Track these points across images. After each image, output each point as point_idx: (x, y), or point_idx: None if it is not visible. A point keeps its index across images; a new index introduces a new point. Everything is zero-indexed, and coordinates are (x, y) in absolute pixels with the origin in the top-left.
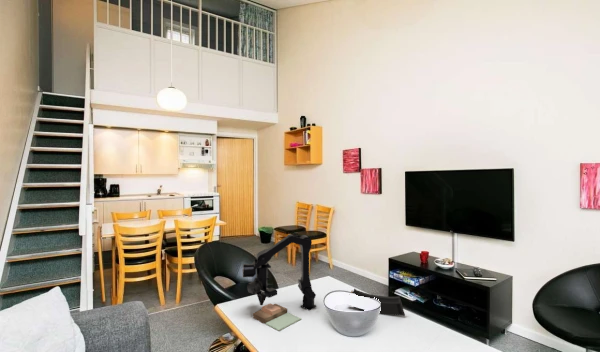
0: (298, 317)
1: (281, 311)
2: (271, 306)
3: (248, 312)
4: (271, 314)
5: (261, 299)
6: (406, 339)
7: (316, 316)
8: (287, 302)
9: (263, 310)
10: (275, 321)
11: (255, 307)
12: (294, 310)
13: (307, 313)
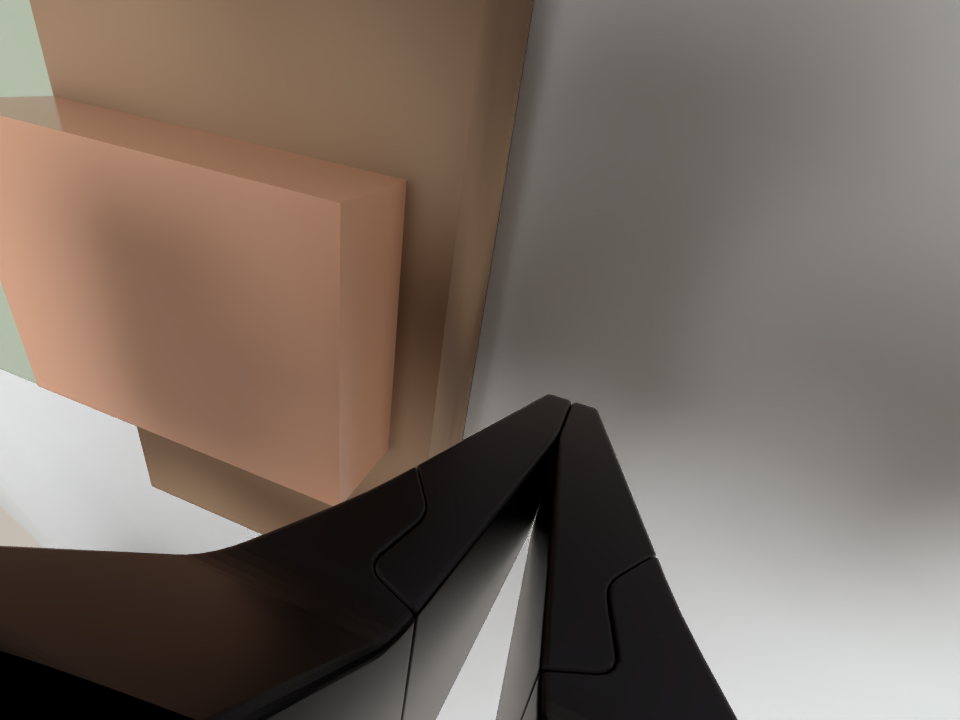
0: (20, 371)
1: None
2: (187, 365)
3: (948, 90)
4: (53, 99)
5: (400, 482)
6: None
7: (10, 476)
8: None
9: (321, 169)
10: (42, 55)
11: (867, 456)
12: (221, 534)
13: (95, 507)
